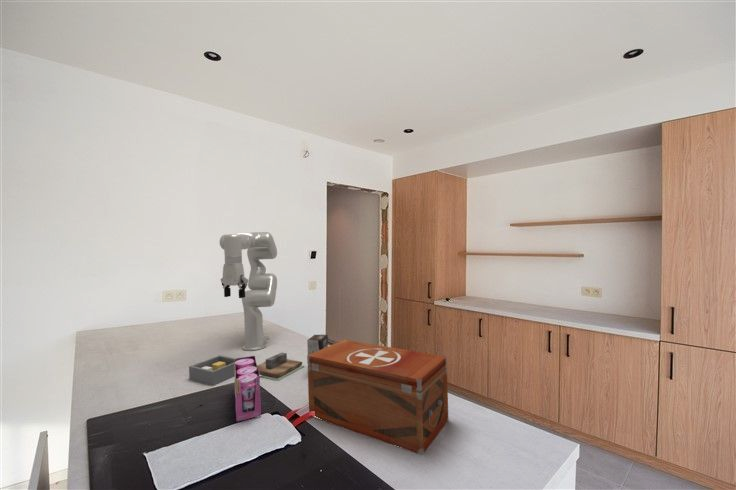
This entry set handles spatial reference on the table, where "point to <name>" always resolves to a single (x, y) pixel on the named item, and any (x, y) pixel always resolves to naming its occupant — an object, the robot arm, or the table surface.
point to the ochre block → (218, 365)
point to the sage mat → (283, 374)
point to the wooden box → (380, 392)
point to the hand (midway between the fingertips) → (234, 297)
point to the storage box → (212, 376)
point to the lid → (278, 365)
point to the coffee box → (317, 343)
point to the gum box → (247, 388)
